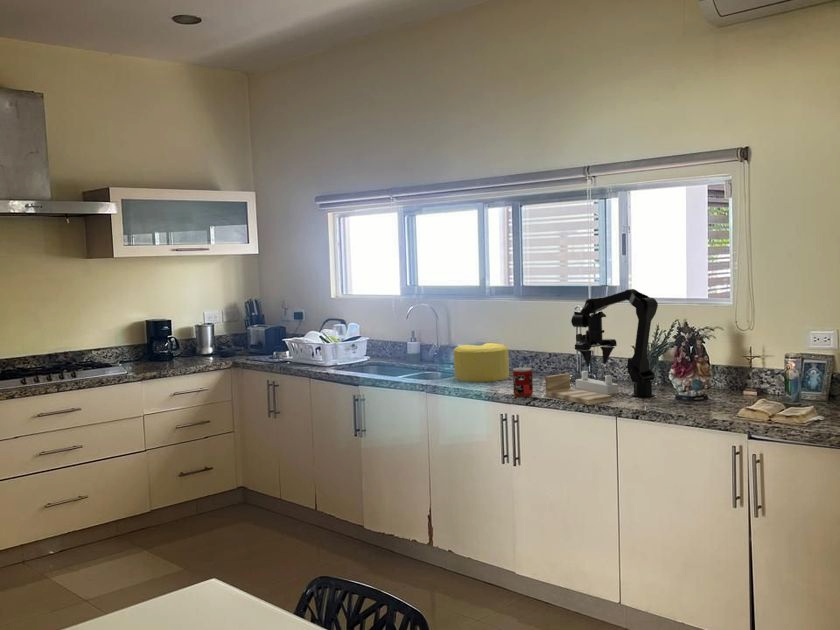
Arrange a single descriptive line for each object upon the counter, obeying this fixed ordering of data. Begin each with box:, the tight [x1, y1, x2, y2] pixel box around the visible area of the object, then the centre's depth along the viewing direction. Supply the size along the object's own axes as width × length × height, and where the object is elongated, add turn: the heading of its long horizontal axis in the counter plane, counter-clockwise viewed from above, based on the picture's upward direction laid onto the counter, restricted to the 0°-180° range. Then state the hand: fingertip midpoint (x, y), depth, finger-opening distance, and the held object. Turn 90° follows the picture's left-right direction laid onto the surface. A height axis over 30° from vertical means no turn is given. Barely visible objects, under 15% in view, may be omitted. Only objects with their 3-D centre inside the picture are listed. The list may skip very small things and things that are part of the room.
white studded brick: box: [575, 370, 620, 395], centre depth 332 cm, size 20×6×8 cm, turn 28°
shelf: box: [545, 372, 613, 406], centre depth 317 cm, size 26×12×8 cm, turn 31°
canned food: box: [512, 366, 534, 397], centre depth 329 cm, size 8×8×11 cm
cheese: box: [453, 342, 510, 383], centre depth 378 cm, size 26×26×15 cm
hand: (596, 364), depth 331 cm, fingers open, 9 cm apart
